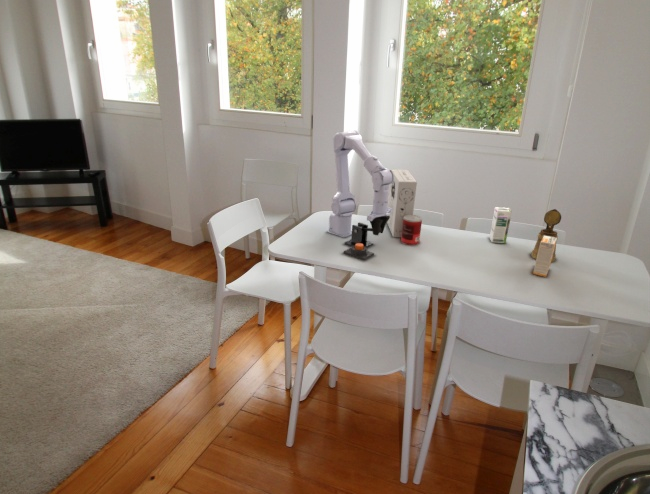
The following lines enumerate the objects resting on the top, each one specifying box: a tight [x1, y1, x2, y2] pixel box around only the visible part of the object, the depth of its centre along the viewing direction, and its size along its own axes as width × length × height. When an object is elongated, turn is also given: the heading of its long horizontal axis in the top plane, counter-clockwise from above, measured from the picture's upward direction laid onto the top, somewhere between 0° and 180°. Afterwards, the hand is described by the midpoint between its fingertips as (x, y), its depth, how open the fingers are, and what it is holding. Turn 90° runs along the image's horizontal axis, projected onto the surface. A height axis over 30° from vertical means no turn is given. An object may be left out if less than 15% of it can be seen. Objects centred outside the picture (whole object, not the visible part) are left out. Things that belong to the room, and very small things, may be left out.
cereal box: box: [386, 168, 418, 238], centre depth 208 cm, size 22×8×25 cm, turn 179°
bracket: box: [344, 221, 374, 249], centre depth 193 cm, size 9×8×9 cm
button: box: [355, 243, 363, 250], centre depth 184 cm, size 3×3×2 cm
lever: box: [359, 226, 382, 234], centre depth 189 cm, size 12×3×3 cm, turn 49°
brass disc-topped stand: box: [530, 208, 562, 263], centre depth 186 cm, size 9×14×18 cm, turn 150°
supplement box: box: [532, 236, 558, 278], centre depth 172 cm, size 8×5×13 cm, turn 148°
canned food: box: [400, 214, 423, 246], centre depth 197 cm, size 8×8×11 cm
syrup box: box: [489, 206, 512, 244], centre depth 200 cm, size 6×6×14 cm
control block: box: [343, 245, 375, 261], centre depth 185 cm, size 10×7×3 cm
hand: (377, 233), depth 187 cm, fingers closed on lever, 3 cm apart
